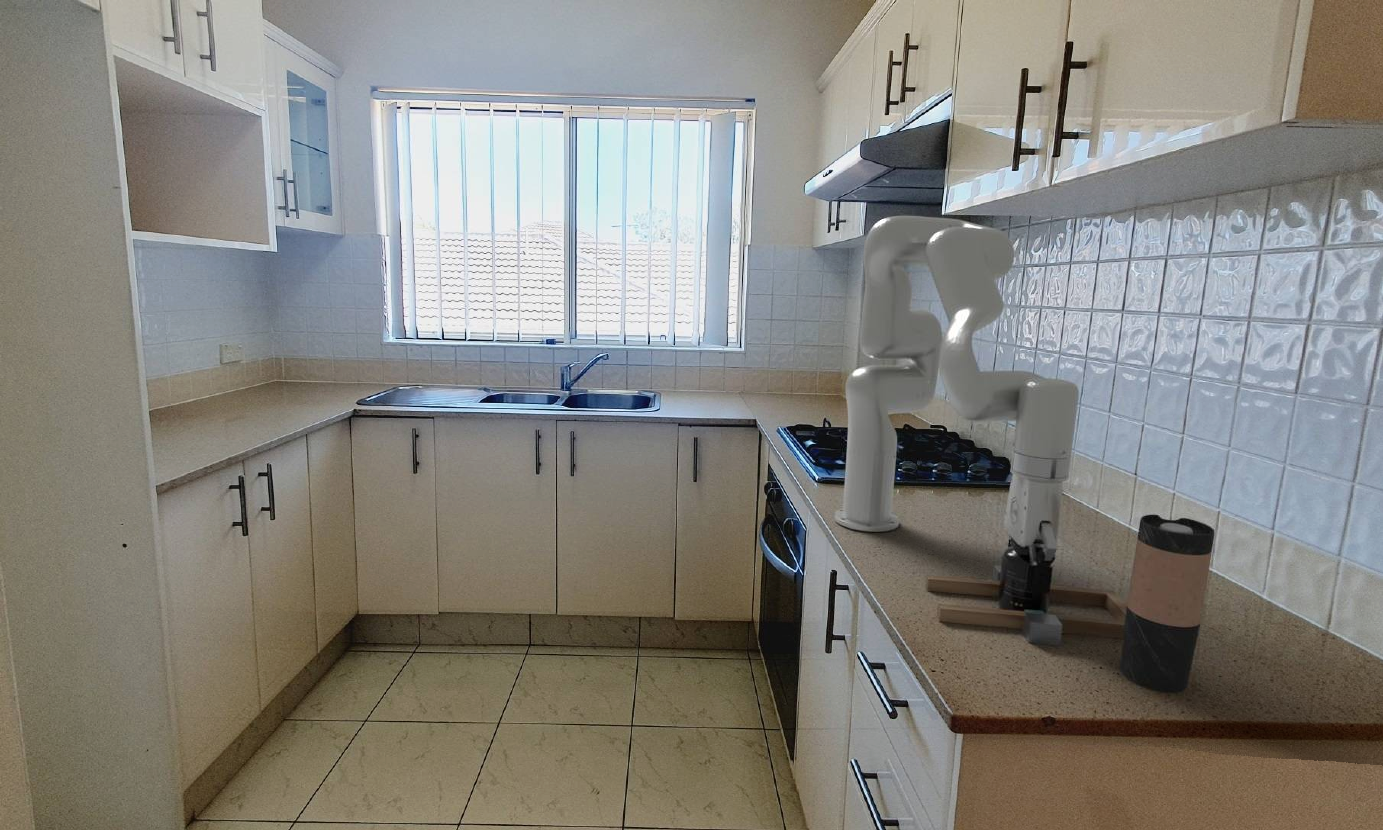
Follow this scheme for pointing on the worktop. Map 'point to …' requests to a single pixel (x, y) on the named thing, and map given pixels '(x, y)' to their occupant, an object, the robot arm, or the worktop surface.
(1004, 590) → the supplement bottle
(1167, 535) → the travel mug
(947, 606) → the walnut rails
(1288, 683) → the worktop surface
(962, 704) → the worktop surface
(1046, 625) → the pivot blocks
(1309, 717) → the worktop surface
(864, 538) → the worktop surface
